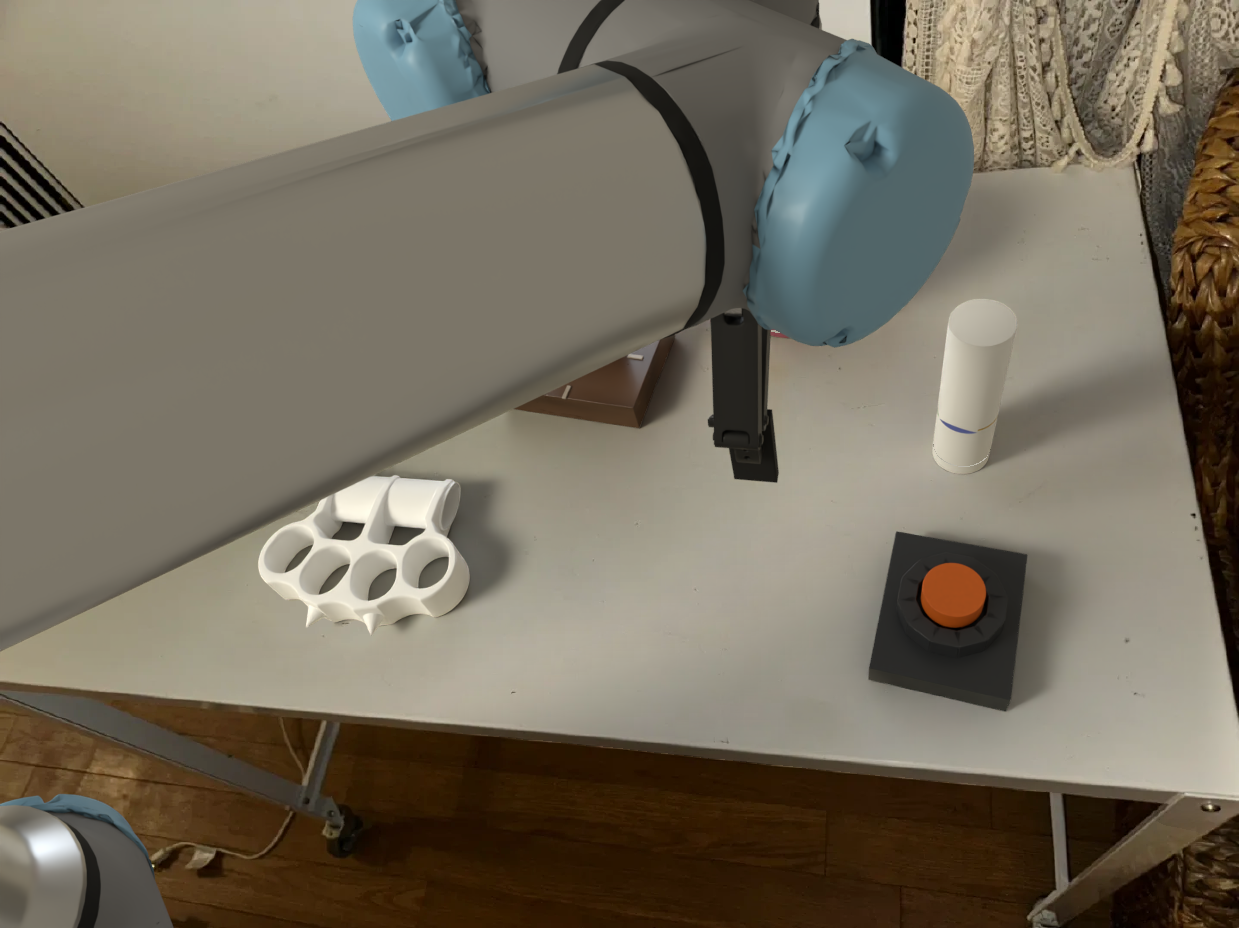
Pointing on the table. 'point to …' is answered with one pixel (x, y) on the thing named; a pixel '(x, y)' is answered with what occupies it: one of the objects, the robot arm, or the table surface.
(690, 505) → the table surface
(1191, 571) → the table surface
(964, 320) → the tube
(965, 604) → the button
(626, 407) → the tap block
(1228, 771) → the table surface
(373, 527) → the white brass knuckles
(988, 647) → the button box
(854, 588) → the table surface
